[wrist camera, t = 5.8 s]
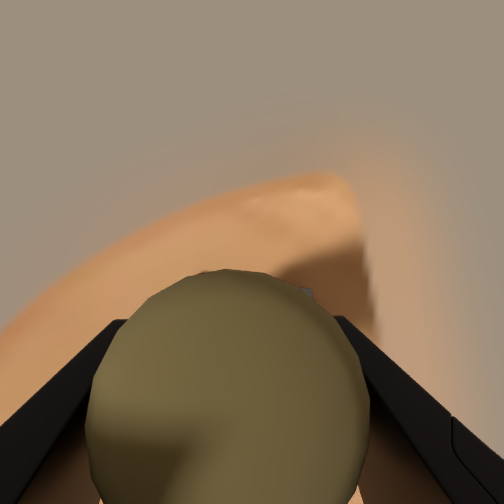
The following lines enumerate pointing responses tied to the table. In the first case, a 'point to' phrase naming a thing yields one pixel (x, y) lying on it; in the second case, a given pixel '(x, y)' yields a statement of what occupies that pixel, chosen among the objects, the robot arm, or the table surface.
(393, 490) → the robot arm
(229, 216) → the table surface
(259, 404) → the cork
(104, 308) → the table surface
